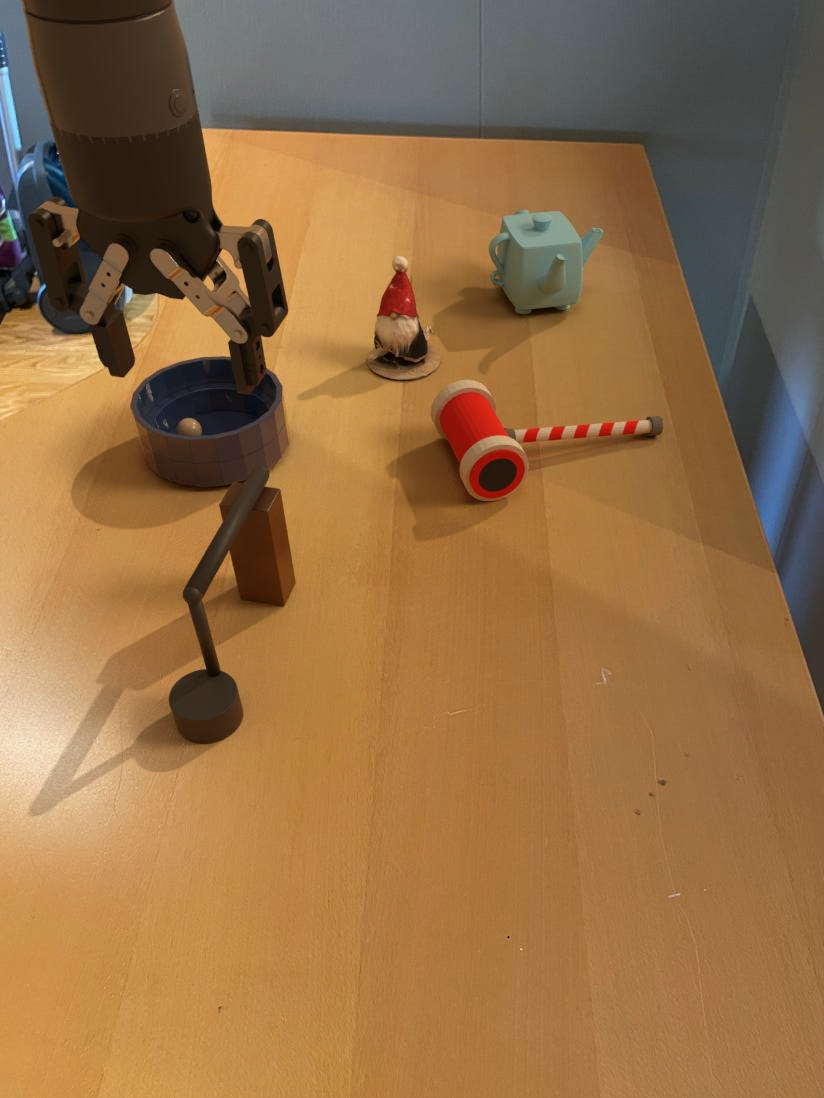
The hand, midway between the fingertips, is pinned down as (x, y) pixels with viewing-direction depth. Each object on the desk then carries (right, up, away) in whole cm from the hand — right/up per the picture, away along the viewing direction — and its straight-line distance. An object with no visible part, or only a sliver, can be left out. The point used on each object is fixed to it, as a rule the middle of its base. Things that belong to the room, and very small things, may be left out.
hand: (185, 379), depth 62 cm
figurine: (+10, +14, +47) cm, 50 cm away
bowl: (-7, +3, +35) cm, 36 cm away
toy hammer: (+24, +2, +36) cm, 43 cm away
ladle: (0, -18, +17) cm, 24 cm away
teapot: (+27, +25, +58) cm, 68 cm away
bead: (-10, +4, +34) cm, 36 cm away
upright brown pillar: (+1, -13, +21) cm, 25 cm away
